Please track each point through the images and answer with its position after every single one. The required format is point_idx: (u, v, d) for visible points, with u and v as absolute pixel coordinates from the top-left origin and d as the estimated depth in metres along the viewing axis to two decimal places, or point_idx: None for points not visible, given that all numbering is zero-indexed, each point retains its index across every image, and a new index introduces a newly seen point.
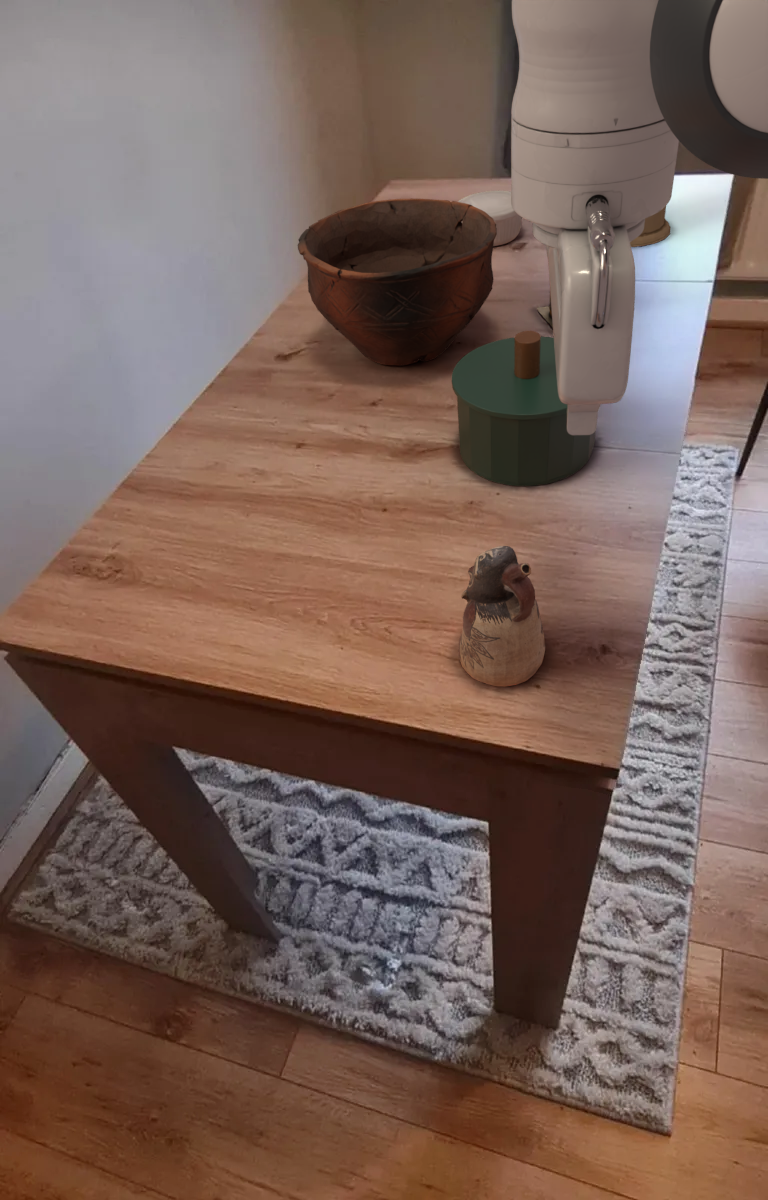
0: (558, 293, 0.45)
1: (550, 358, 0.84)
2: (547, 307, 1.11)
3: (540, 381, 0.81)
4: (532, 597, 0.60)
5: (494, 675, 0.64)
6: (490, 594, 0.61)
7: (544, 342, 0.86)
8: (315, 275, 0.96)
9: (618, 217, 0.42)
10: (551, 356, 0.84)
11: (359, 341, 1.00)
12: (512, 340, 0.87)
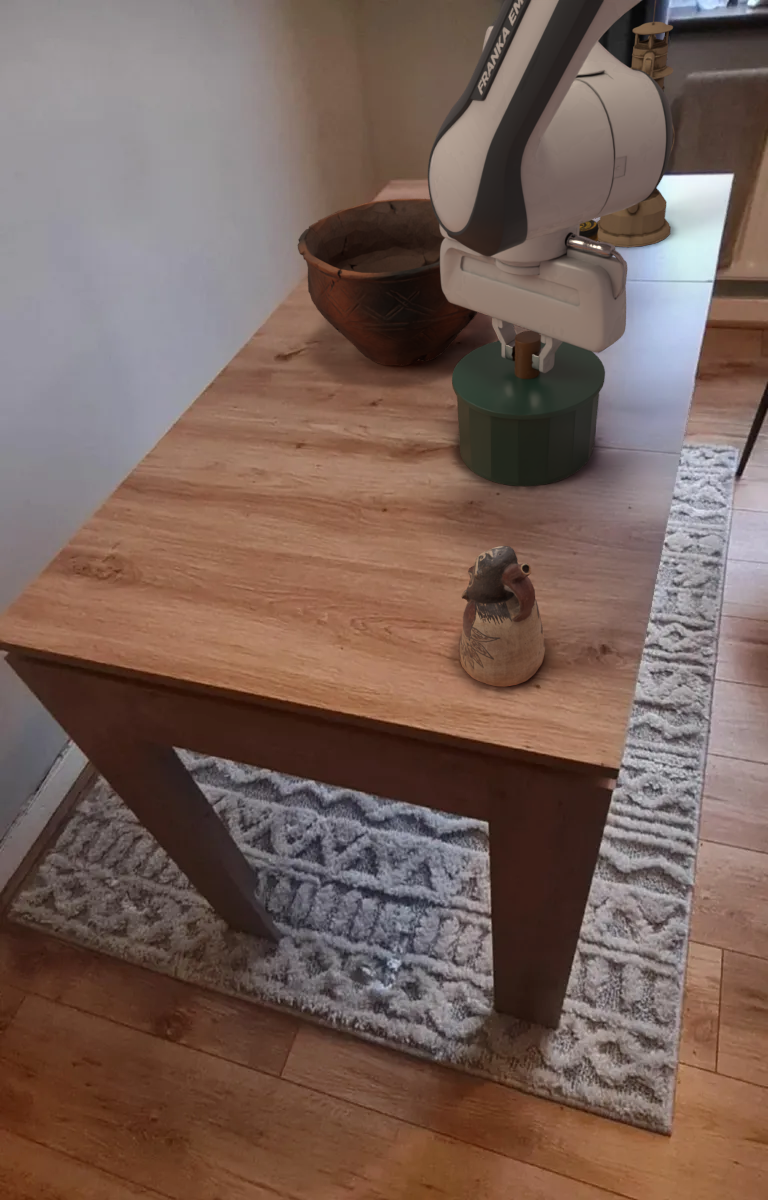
0: (550, 298, 0.73)
1: None
2: None
3: (540, 381, 0.81)
4: (532, 597, 0.60)
5: (494, 675, 0.64)
6: (490, 594, 0.61)
7: None
8: (315, 275, 0.96)
9: None
10: None
11: (359, 341, 1.00)
12: None
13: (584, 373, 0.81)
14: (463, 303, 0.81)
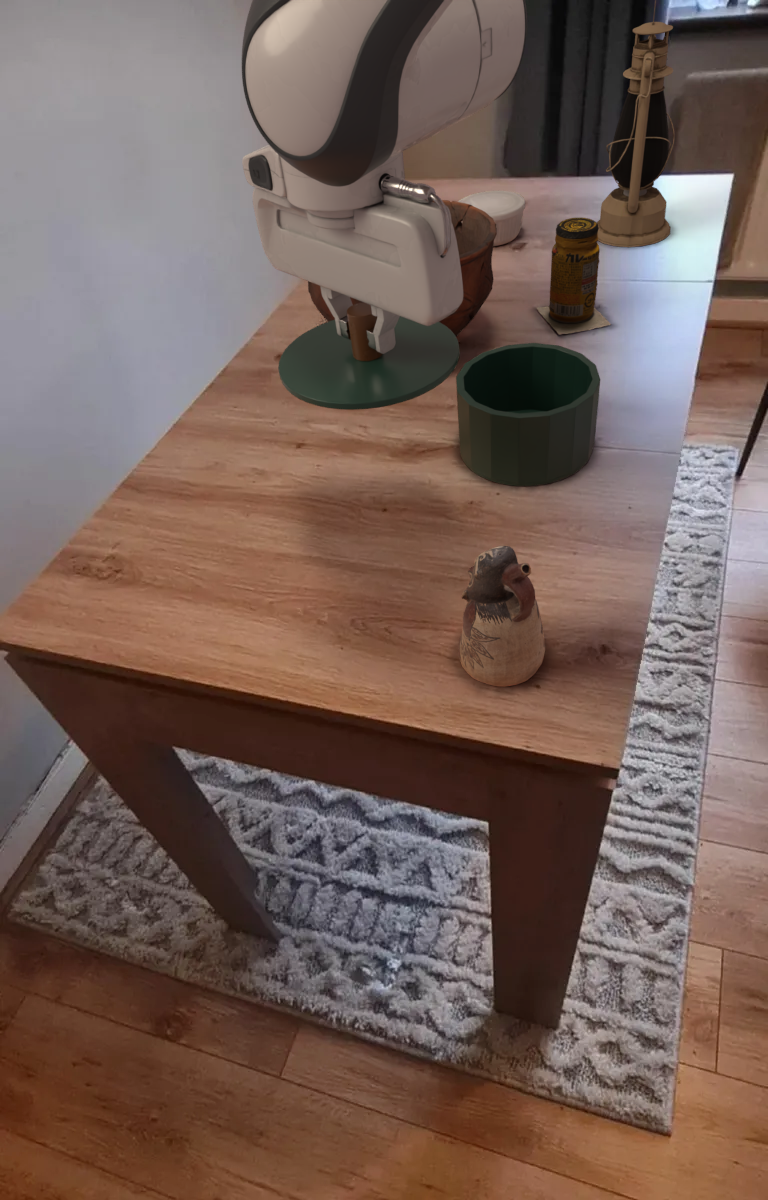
0: (370, 258, 0.58)
1: (399, 337, 0.70)
2: (547, 307, 1.11)
3: (381, 364, 0.67)
4: (532, 597, 0.60)
5: (494, 675, 0.64)
6: (490, 594, 0.61)
7: None
8: None
9: None
10: (401, 334, 0.70)
11: None
12: None
13: (434, 354, 0.67)
14: (287, 269, 0.67)
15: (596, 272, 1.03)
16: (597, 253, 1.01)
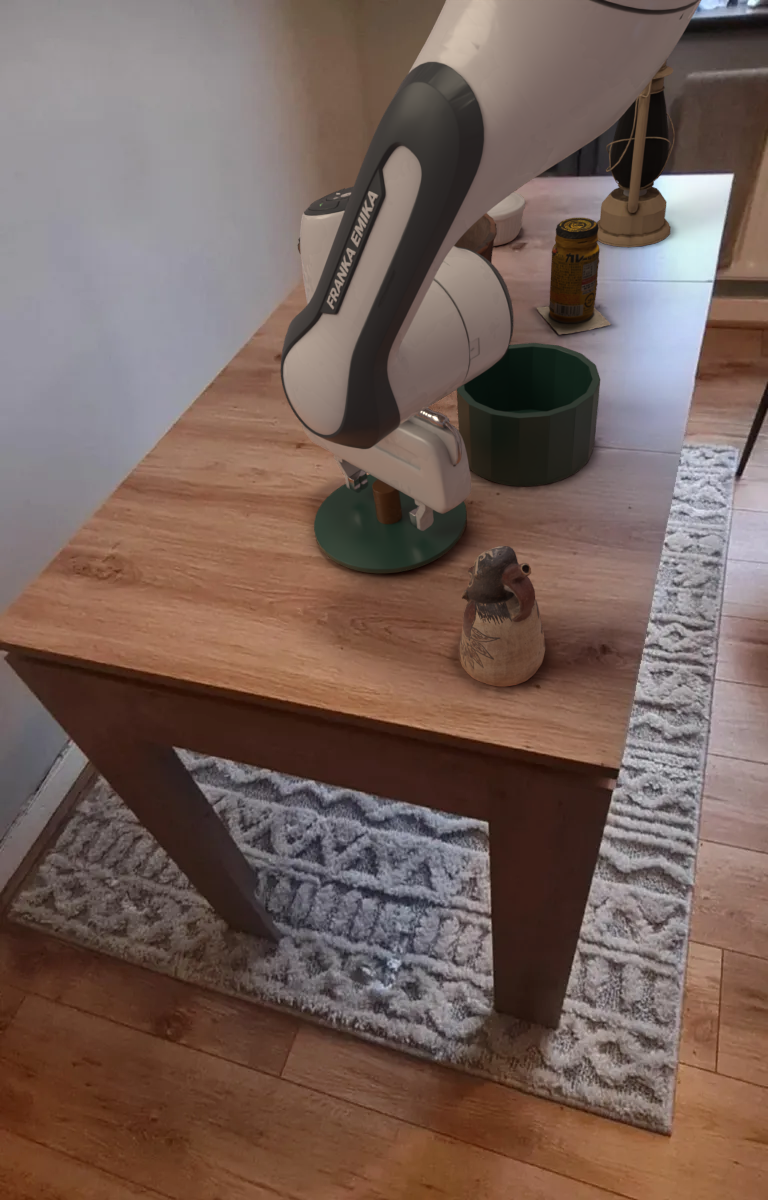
0: (395, 457, 0.71)
1: None
2: (547, 307, 1.11)
3: (400, 527, 0.80)
4: (532, 597, 0.60)
5: (494, 675, 0.64)
6: (490, 594, 0.61)
7: None
8: None
9: None
10: None
11: None
12: None
13: (445, 519, 0.80)
14: (323, 446, 0.80)
15: (596, 272, 1.03)
16: (597, 253, 1.01)
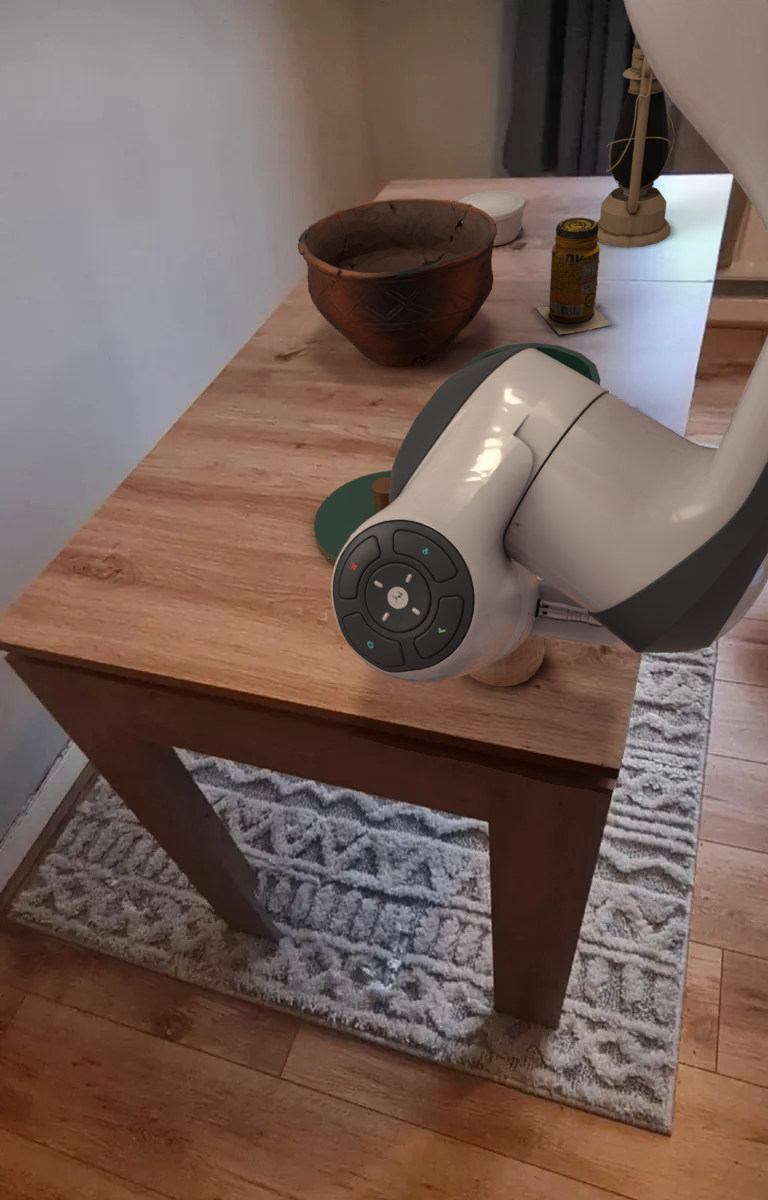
0: None
1: None
2: (547, 307, 1.11)
3: None
4: None
5: (494, 675, 0.64)
6: None
7: None
8: (315, 275, 0.96)
9: (538, 589, 0.51)
10: None
11: (359, 341, 1.00)
12: (382, 475, 0.86)
13: None
14: None
15: (596, 272, 1.03)
16: (597, 253, 1.01)
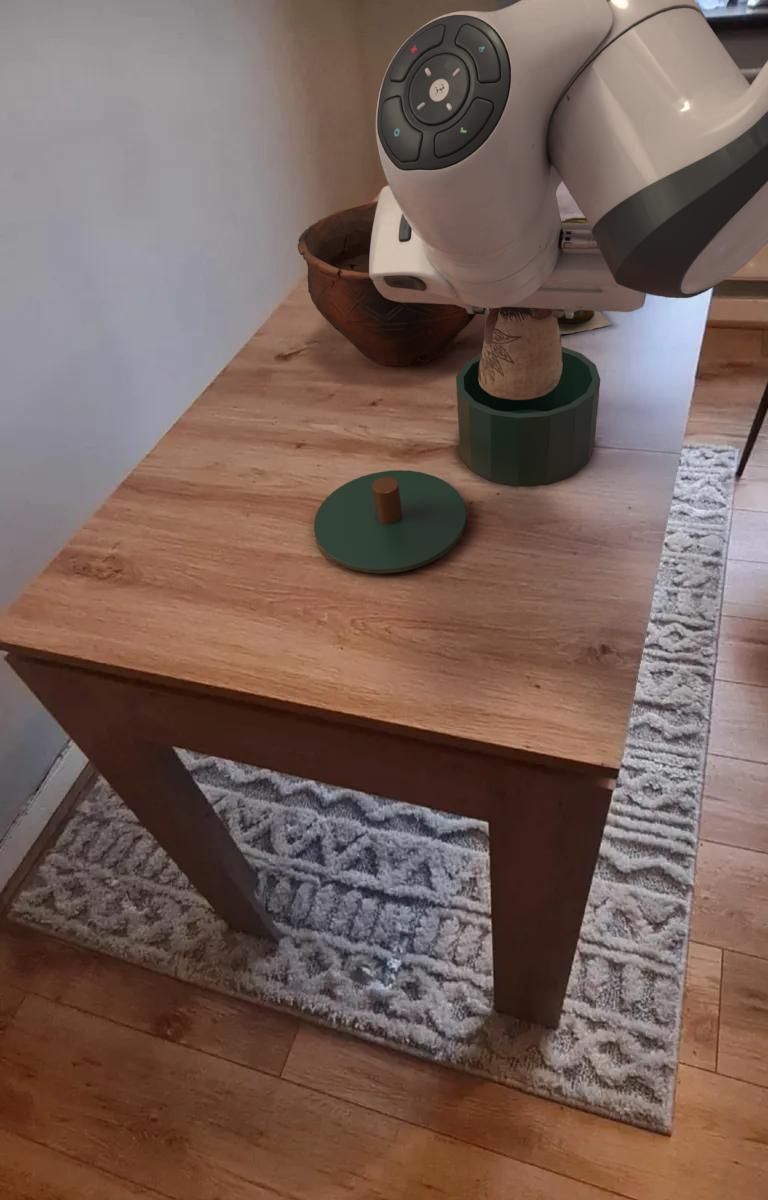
0: (555, 291, 0.57)
1: (416, 499, 0.82)
2: None
3: (400, 527, 0.80)
4: None
5: (513, 383, 0.67)
6: None
7: (413, 478, 0.85)
8: (315, 275, 0.96)
9: (561, 225, 0.53)
10: (417, 496, 0.83)
11: (359, 341, 1.00)
12: (382, 475, 0.86)
13: (445, 519, 0.80)
14: (422, 302, 0.64)
15: None
16: None
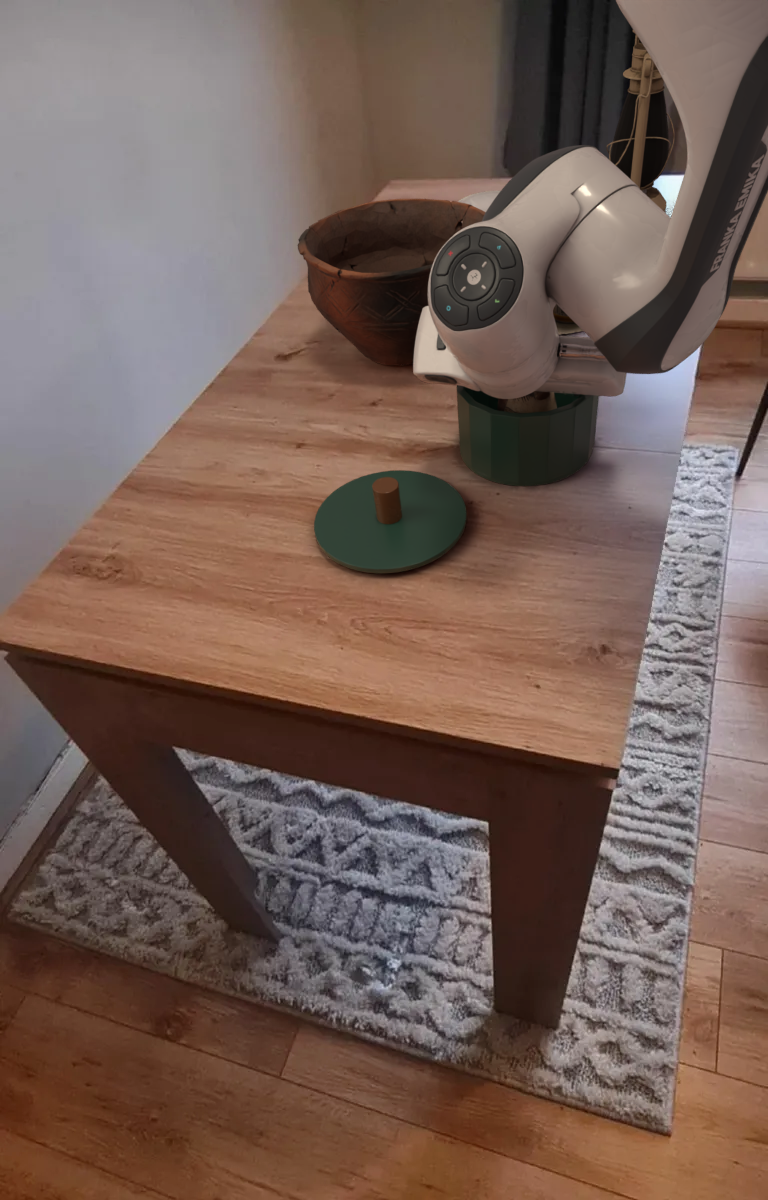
0: (555, 383, 0.75)
1: (416, 499, 0.82)
2: None
3: (400, 527, 0.80)
4: None
5: None
6: None
7: (413, 478, 0.85)
8: (315, 275, 0.96)
9: (559, 339, 0.71)
10: (417, 496, 0.83)
11: (359, 341, 1.00)
12: (382, 475, 0.86)
13: (445, 519, 0.80)
14: (451, 384, 0.81)
15: None
16: None
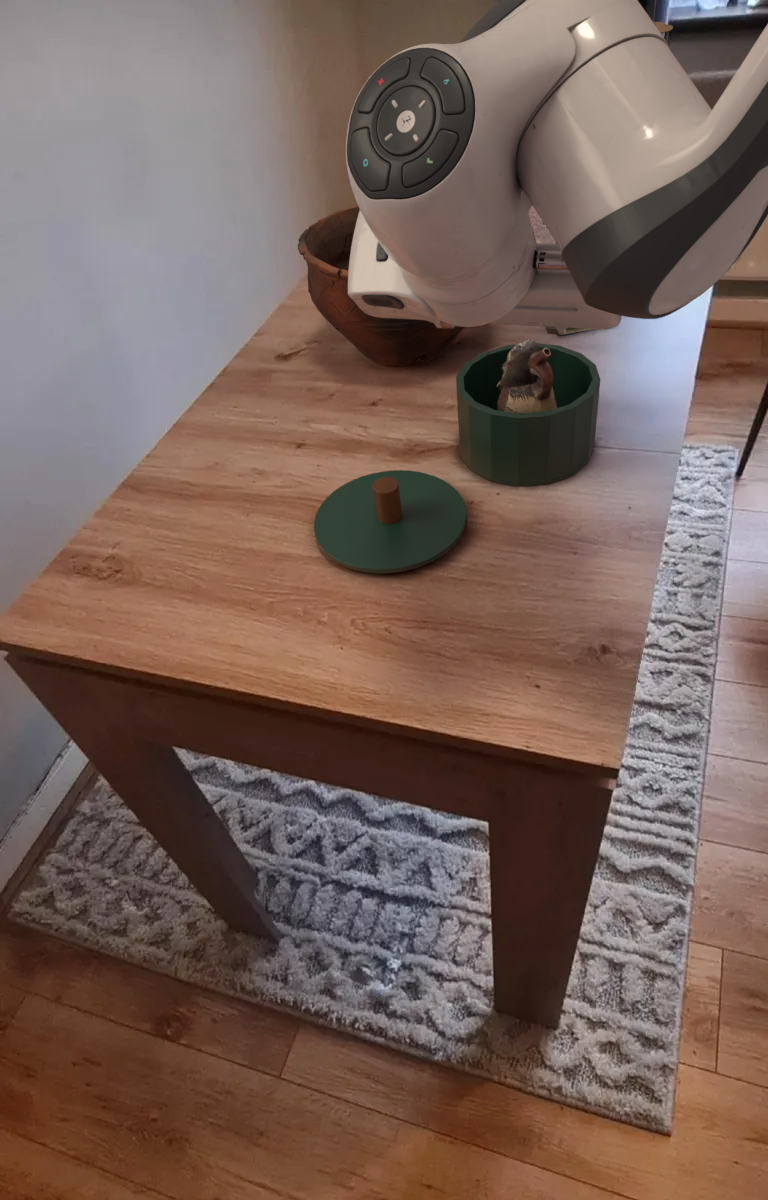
0: (532, 309, 0.58)
1: (416, 499, 0.82)
2: None
3: (400, 527, 0.80)
4: (551, 378, 0.81)
5: None
6: (519, 377, 0.81)
7: (413, 478, 0.85)
8: (315, 275, 0.96)
9: (536, 245, 0.54)
10: (417, 496, 0.83)
11: (359, 341, 1.00)
12: (382, 475, 0.86)
13: (445, 519, 0.80)
14: (403, 318, 0.64)
15: None
16: None
